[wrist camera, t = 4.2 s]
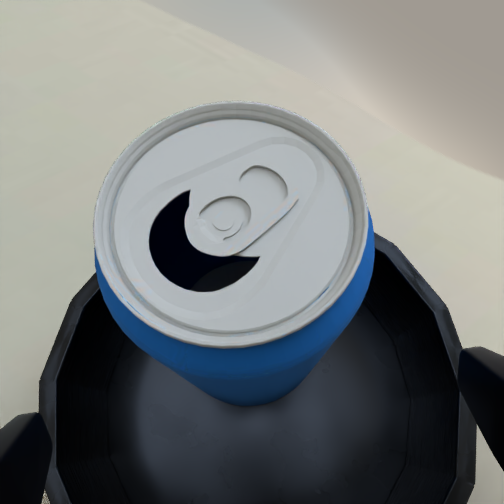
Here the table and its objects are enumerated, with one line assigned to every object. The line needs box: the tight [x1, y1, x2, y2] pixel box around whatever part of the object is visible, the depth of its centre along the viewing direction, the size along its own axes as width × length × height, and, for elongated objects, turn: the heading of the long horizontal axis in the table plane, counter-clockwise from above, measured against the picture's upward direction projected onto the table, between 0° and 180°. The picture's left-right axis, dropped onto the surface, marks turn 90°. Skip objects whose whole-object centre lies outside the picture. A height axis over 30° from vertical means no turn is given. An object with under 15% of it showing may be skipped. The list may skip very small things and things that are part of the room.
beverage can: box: [93, 101, 375, 406], centre depth 14 cm, size 6×6×12 cm
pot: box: [39, 233, 477, 504], centre depth 17 cm, size 14×14×5 cm
